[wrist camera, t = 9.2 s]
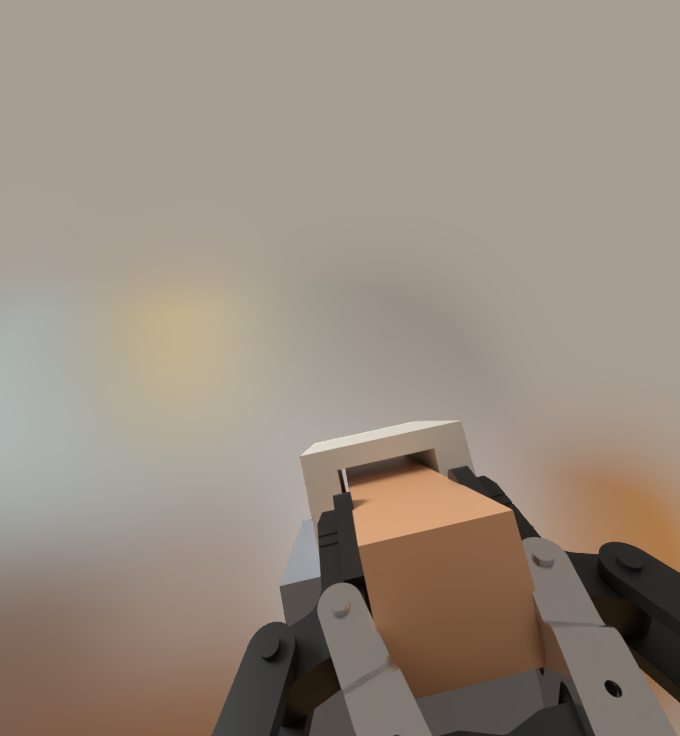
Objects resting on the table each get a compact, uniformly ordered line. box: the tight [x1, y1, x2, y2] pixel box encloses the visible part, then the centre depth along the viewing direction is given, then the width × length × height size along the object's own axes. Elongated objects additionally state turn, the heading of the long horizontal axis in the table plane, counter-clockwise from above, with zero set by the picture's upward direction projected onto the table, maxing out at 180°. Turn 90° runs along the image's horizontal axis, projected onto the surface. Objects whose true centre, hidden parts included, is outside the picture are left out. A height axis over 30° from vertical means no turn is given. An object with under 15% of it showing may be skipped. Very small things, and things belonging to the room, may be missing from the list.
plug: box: [345, 455, 545, 700], centre depth 19 cm, size 4×22×4 cm, turn 0°
